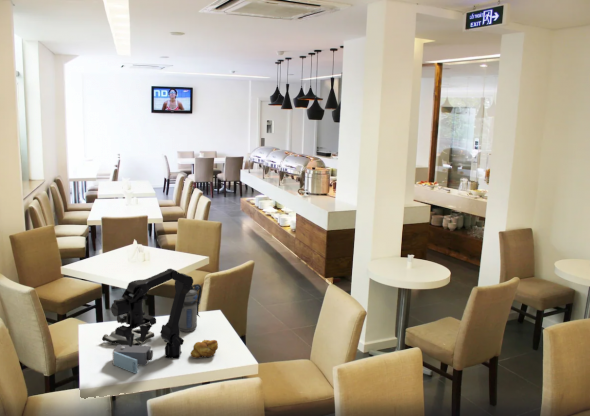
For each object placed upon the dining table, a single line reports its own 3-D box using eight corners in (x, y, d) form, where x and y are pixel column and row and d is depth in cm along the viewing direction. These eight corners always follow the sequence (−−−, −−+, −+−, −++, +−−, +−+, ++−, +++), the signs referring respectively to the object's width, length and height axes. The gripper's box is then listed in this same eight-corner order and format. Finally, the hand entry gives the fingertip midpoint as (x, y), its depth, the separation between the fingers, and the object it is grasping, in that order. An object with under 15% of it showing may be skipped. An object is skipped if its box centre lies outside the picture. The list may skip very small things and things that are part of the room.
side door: (137, 372, 219) (137, 359, 218) (134, 374, 218) (134, 361, 217) (114, 363, 226) (114, 350, 225) (111, 364, 225) (111, 352, 224)
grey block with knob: (153, 358, 234) (153, 344, 232) (149, 365, 227) (149, 351, 226) (118, 356, 233) (117, 343, 232) (112, 364, 226) (112, 350, 225)
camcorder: (136, 352, 239) (136, 341, 238) (100, 344, 245) (100, 334, 244) (155, 338, 255) (156, 329, 254) (121, 331, 261) (121, 322, 260)
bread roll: (192, 362, 232) (193, 345, 230) (187, 353, 240) (187, 337, 239) (219, 357, 238) (219, 341, 236) (213, 348, 246) (213, 333, 245)
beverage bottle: (203, 330, 266) (203, 285, 262) (178, 334, 260) (178, 288, 256) (198, 323, 275) (199, 279, 271) (174, 326, 269) (174, 282, 265)
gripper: (139, 300, 230) (139, 332, 233) (105, 312, 214) (106, 346, 217) (157, 305, 225) (157, 338, 227) (124, 318, 209) (124, 353, 211)
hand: (136, 343), depth 221 cm, fingers open, 6 cm apart
